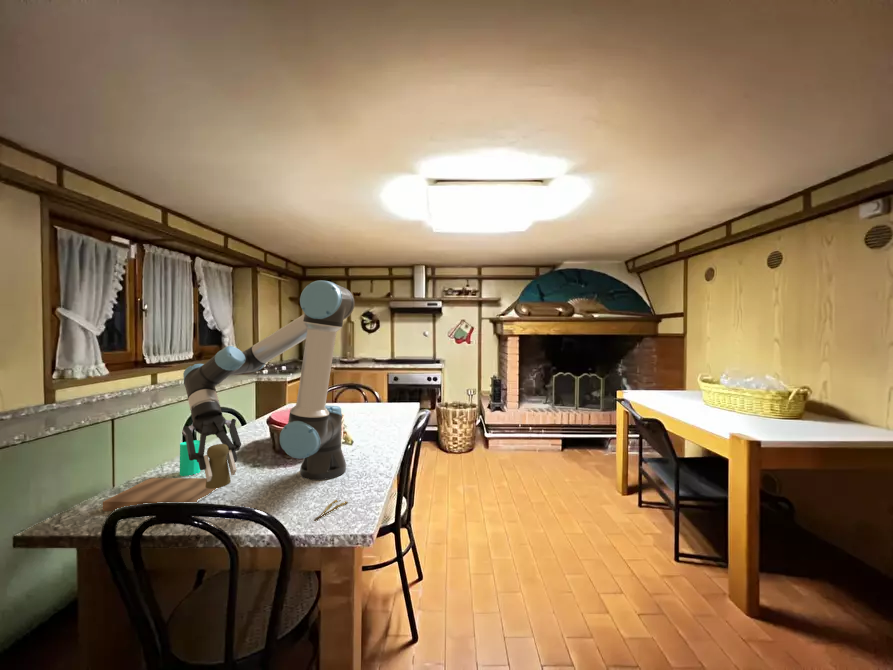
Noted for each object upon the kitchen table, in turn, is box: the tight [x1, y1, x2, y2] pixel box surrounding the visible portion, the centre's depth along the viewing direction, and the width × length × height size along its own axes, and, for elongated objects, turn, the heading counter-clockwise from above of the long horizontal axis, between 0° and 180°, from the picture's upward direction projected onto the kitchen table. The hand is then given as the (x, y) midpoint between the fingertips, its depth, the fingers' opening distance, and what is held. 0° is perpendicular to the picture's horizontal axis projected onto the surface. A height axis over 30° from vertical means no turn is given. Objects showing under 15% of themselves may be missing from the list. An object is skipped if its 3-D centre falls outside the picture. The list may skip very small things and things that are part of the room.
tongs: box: [313, 499, 349, 522], centre depth 98 cm, size 4×13×2 cm, turn 166°
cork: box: [205, 443, 232, 489], centre depth 102 cm, size 6×6×11 cm
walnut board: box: [102, 477, 216, 512], centre depth 105 cm, size 22×16×2 cm
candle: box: [179, 439, 202, 477], centre depth 124 cm, size 6×6×12 cm
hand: (222, 475), depth 99 cm, fingers closed on cork, 5 cm apart
